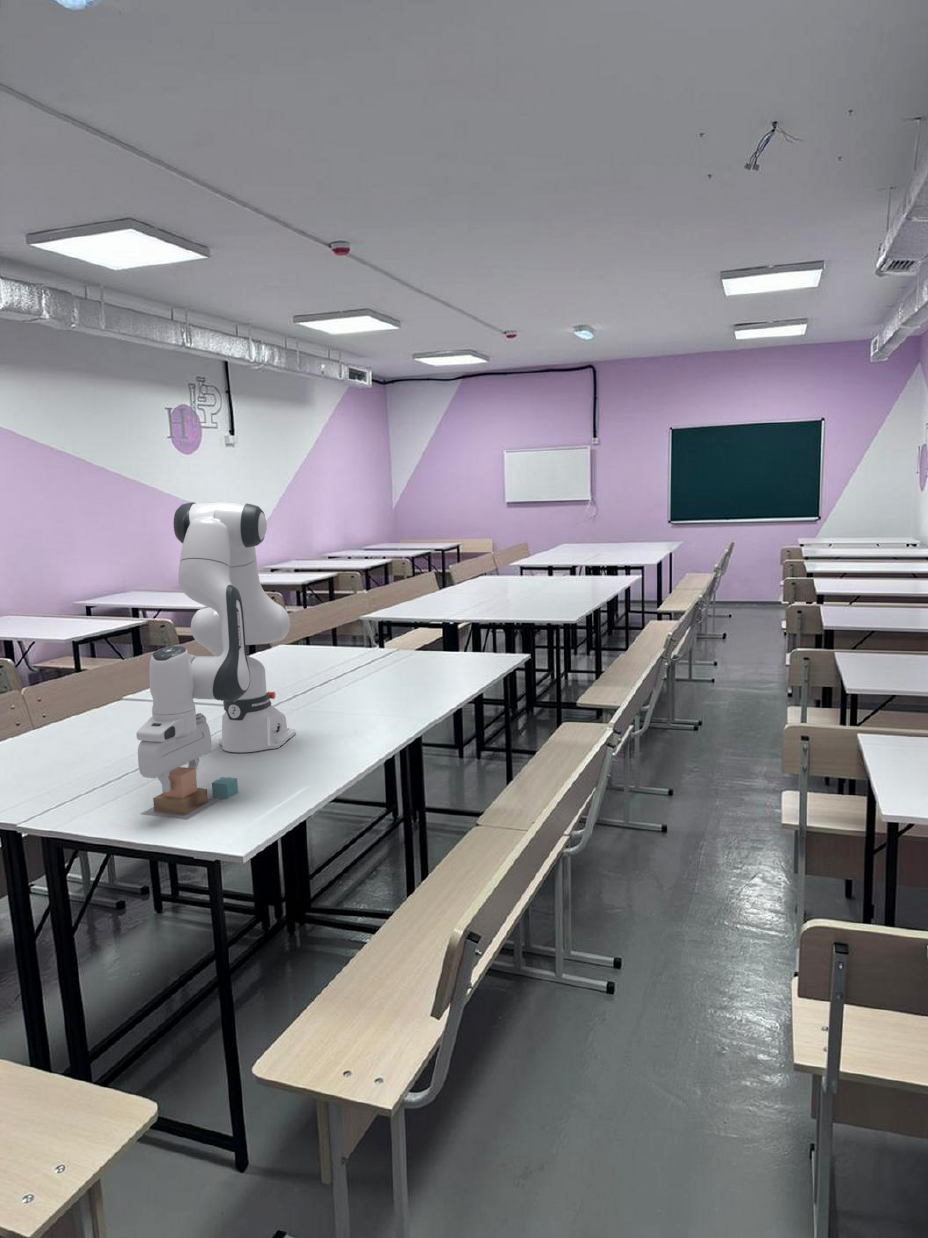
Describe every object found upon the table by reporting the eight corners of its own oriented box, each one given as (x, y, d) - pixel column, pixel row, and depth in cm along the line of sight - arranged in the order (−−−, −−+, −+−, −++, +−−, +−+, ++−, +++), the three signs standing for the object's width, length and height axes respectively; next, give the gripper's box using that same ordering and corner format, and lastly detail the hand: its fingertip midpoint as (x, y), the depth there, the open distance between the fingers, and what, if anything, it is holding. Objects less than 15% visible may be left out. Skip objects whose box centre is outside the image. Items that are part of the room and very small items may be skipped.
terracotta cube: (178, 788, 186) (176, 766, 185) (197, 790, 184) (195, 768, 184) (163, 796, 181) (161, 773, 181) (182, 798, 180) (181, 775, 179)
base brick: (178, 798, 188) (177, 785, 188) (208, 801, 186) (207, 788, 185) (154, 811, 181) (153, 798, 180) (185, 815, 178) (184, 801, 178)
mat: (176, 797, 191) (176, 794, 191) (221, 802, 187) (221, 799, 187) (140, 816, 180) (140, 814, 180) (187, 822, 176) (187, 819, 176)
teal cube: (223, 794, 193) (222, 777, 192) (238, 795, 191) (237, 778, 191) (212, 800, 189) (211, 782, 188) (228, 801, 188) (226, 784, 187)
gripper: (192, 710, 191) (197, 768, 193) (130, 734, 172) (136, 799, 174) (216, 711, 189) (220, 770, 191) (155, 736, 170) (161, 802, 172)
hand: (179, 784), depth 182 cm, fingers open, 6 cm apart
